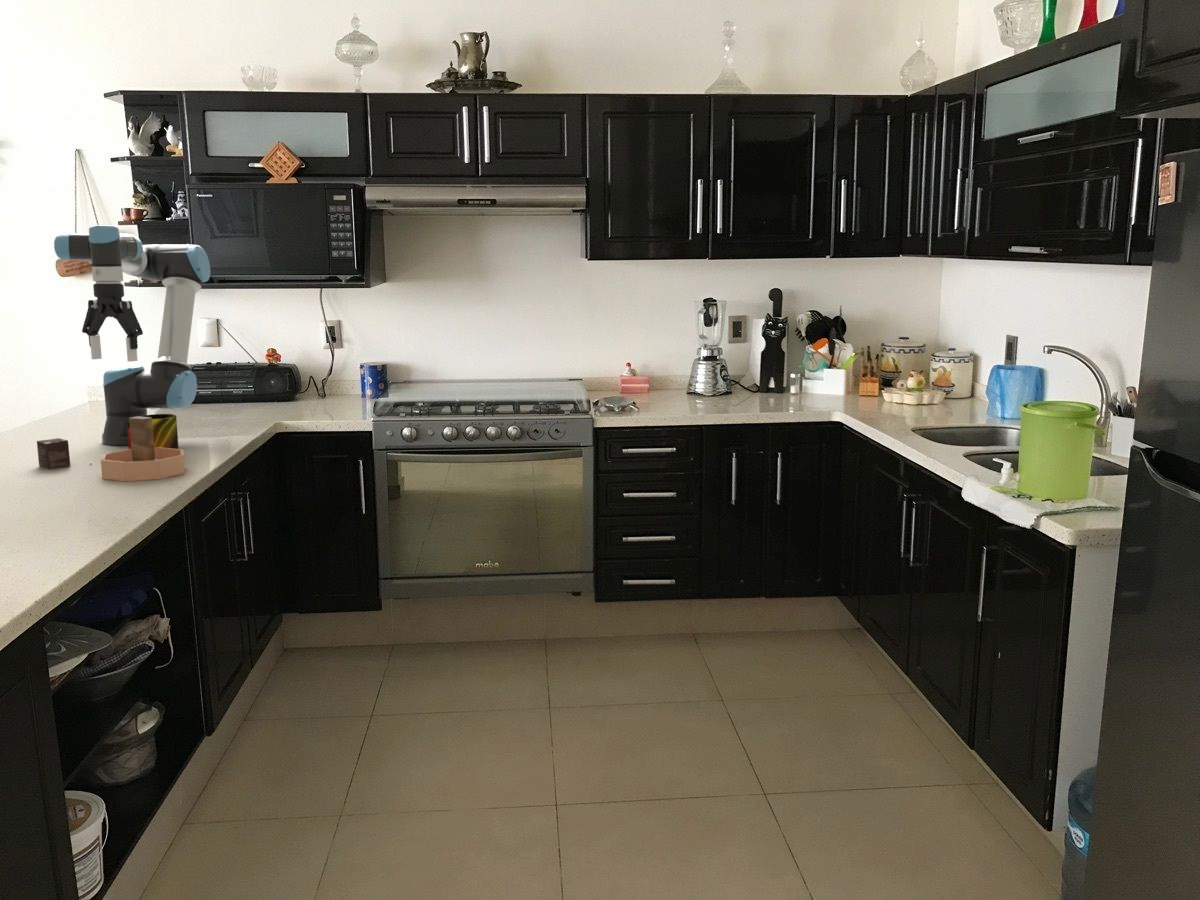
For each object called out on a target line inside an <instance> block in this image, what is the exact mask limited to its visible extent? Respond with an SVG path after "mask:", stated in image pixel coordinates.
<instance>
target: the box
mask: <svg viewBox="0 0 1200 900" xmlns="http://www.w3.org/2000/svg"><path fill="white" fill-rule="evenodd" d="M69 446H70V445H69V441H68V440H67V439H63V438H59V437H57V438H56V437H55V438H50V439H43V440H36V447H37V458H38V467H39V468H43V469H47V470H52V469H53V470H54V469H59V468H66V467H71V457H70V448H69Z"/></svg>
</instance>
